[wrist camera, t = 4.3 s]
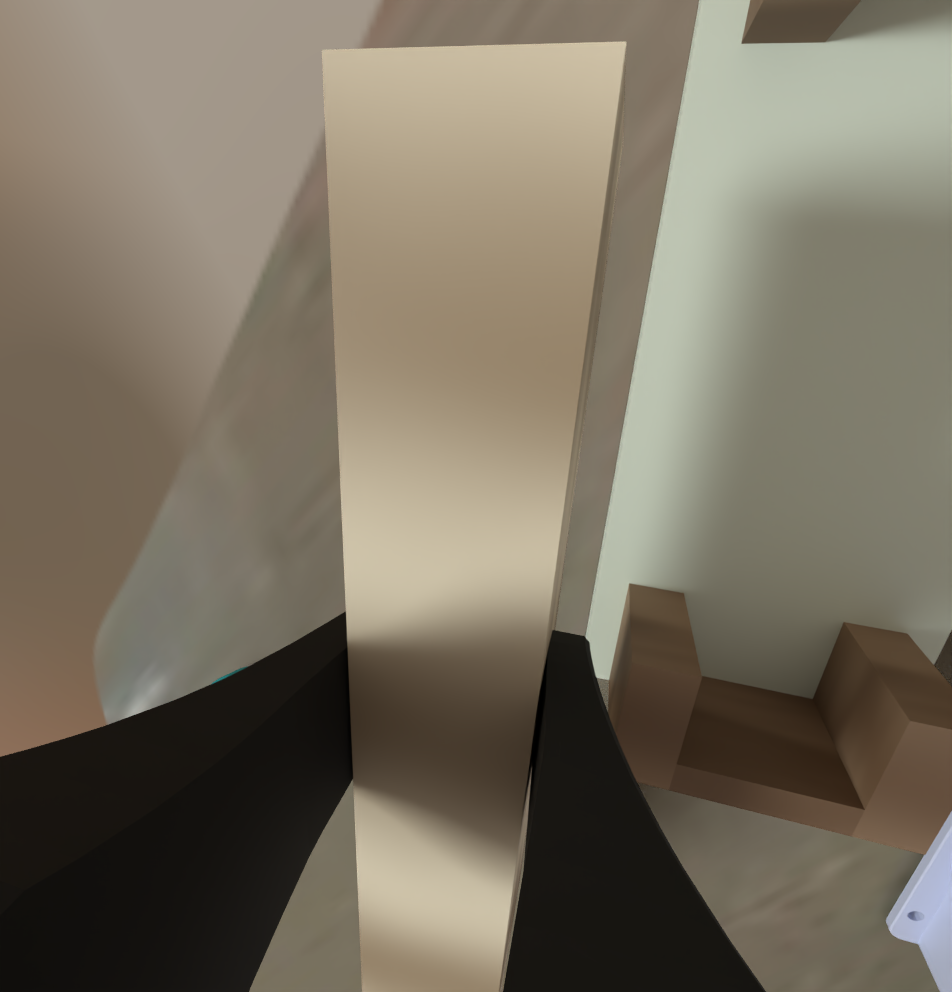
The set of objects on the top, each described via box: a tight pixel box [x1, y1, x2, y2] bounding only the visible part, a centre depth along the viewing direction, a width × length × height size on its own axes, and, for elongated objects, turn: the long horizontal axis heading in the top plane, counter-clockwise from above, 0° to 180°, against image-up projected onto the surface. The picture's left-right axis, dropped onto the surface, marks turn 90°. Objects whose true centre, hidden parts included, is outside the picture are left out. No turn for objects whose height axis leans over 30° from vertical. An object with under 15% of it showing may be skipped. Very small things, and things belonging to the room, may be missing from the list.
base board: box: [586, 0, 952, 699], centre depth 14 cm, size 22×10×1 cm, turn 176°
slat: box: [322, 42, 626, 992], centre depth 10 cm, size 18×3×4 cm, turn 176°
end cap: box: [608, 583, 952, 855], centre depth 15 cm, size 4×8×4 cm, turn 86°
